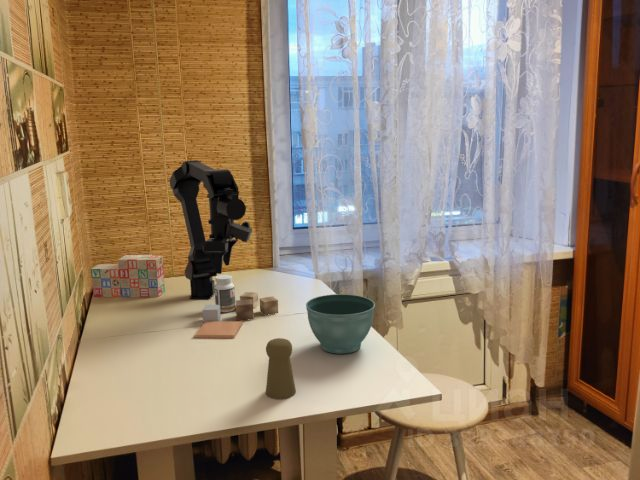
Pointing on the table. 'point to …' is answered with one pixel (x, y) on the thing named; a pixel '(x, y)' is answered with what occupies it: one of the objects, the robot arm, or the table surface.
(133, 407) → the table surface
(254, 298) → the beech block
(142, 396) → the table surface
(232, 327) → the terracotta tile
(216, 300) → the pill bottle
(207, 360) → the table surface
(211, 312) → the grey painted block
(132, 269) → the stack of blocks
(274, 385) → the olive pawn
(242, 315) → the walnut cube
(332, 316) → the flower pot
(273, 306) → the oak block
